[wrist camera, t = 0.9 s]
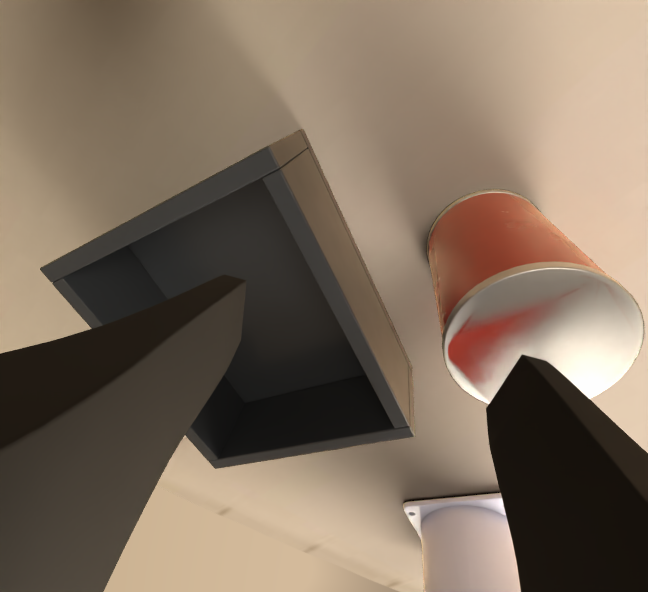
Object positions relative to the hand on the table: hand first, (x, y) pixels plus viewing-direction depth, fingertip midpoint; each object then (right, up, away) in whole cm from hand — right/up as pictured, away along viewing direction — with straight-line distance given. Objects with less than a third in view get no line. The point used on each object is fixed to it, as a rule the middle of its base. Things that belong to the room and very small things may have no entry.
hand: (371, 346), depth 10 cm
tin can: (+6, +4, +8) cm, 11 cm away
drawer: (-5, +1, +12) cm, 13 cm away
